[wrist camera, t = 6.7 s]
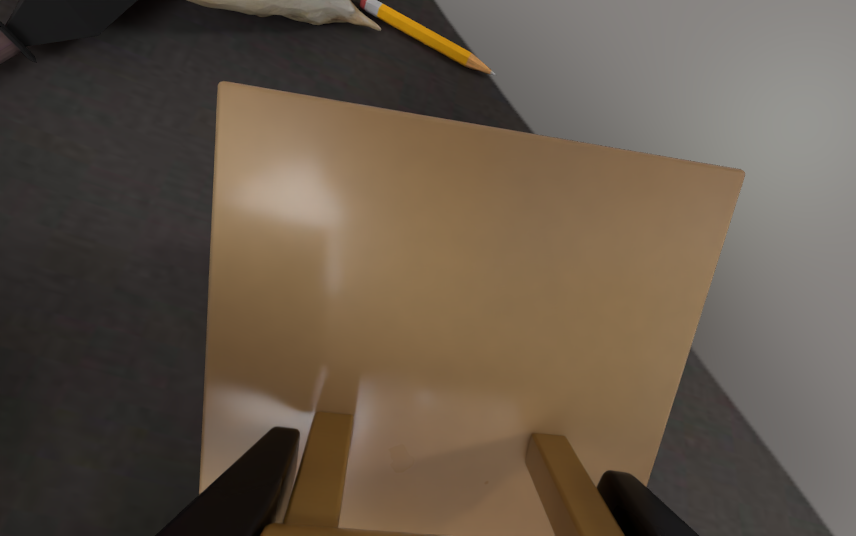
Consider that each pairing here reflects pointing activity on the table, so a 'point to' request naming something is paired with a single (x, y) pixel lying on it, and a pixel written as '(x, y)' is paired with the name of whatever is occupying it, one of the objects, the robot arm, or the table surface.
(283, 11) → the sculpture
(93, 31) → the kunai knife
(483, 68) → the pencil
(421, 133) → the lid
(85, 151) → the table surface
